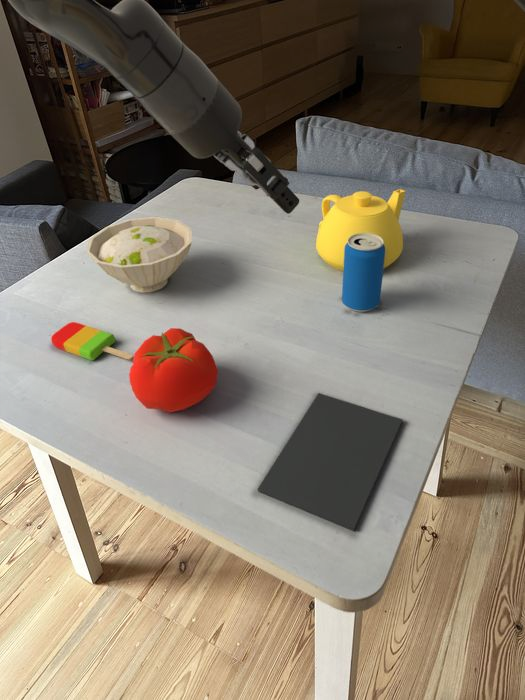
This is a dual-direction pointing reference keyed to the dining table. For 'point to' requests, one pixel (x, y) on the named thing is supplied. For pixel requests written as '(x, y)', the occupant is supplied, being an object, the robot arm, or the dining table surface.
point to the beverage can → (363, 271)
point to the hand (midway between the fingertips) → (276, 194)
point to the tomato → (172, 371)
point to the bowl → (141, 251)
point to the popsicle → (85, 341)
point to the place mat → (332, 460)
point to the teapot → (359, 225)
